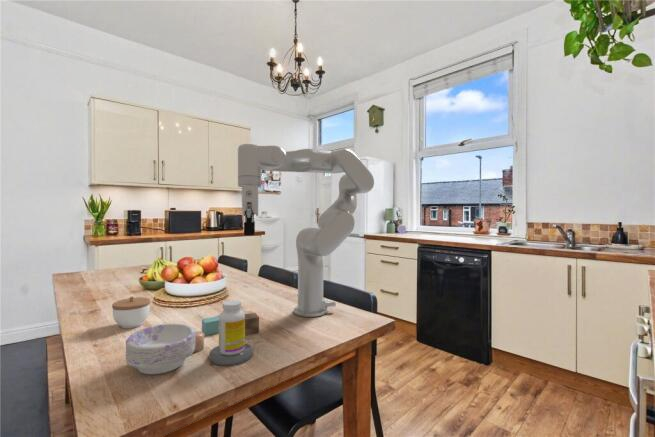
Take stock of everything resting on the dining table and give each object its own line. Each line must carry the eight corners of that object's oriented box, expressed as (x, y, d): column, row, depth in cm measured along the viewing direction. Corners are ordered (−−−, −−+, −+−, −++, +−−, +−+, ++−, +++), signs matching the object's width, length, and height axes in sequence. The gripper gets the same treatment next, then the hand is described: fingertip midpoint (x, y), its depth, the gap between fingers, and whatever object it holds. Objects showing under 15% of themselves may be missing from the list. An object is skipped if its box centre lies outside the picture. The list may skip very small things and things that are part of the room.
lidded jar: (145, 317, 113) (145, 290, 113) (154, 325, 105) (154, 297, 105) (109, 324, 105) (108, 296, 105) (116, 334, 98) (116, 303, 97)
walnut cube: (254, 327, 104) (254, 312, 104) (259, 333, 100) (259, 317, 99) (239, 330, 102) (239, 314, 101) (242, 336, 97) (242, 319, 97)
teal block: (220, 327, 104) (220, 315, 104) (225, 331, 101) (225, 318, 101) (201, 331, 101) (201, 319, 100) (205, 335, 97) (205, 322, 97)
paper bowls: (182, 380, 72) (182, 346, 72) (112, 383, 71) (111, 348, 70) (203, 350, 87) (203, 321, 87) (145, 352, 86) (145, 323, 86)
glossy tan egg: (196, 344, 91) (197, 330, 91) (206, 347, 89) (207, 333, 89) (184, 349, 87) (185, 334, 87) (195, 353, 85) (195, 338, 85)
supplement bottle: (250, 349, 85) (250, 301, 85) (230, 358, 80) (230, 308, 79) (233, 343, 89) (233, 297, 88) (213, 352, 83) (213, 303, 83)
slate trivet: (253, 345, 91) (253, 340, 91) (252, 363, 80) (252, 359, 80) (212, 348, 88) (212, 344, 88) (206, 368, 78) (206, 363, 78)
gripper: (261, 180, 98) (261, 236, 99) (261, 184, 115) (261, 231, 116) (236, 180, 97) (236, 236, 97) (239, 184, 113) (239, 232, 114)
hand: (249, 233), depth 106 cm, fingers open, 9 cm apart
